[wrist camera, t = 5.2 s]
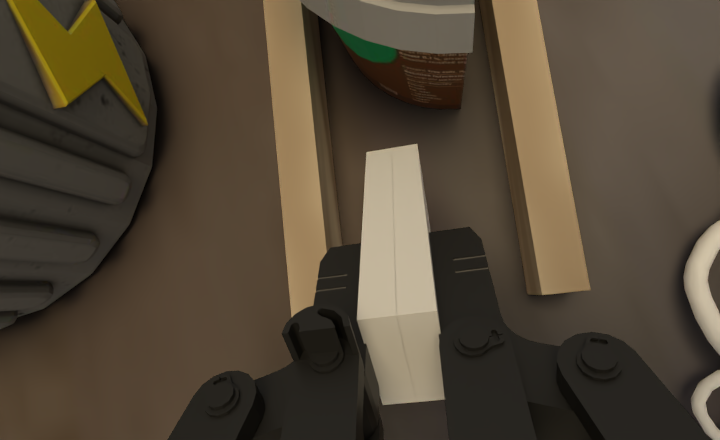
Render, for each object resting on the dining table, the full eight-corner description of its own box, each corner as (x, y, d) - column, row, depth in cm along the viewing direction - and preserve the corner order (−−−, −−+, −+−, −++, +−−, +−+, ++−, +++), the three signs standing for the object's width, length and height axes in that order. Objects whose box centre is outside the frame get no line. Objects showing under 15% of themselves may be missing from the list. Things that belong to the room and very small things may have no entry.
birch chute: (483, -201, 22) (490, -293, 19) (572, 289, 19) (601, 289, 15) (266, -144, 24) (235, -219, 20) (310, 318, 20) (282, 324, 17)
